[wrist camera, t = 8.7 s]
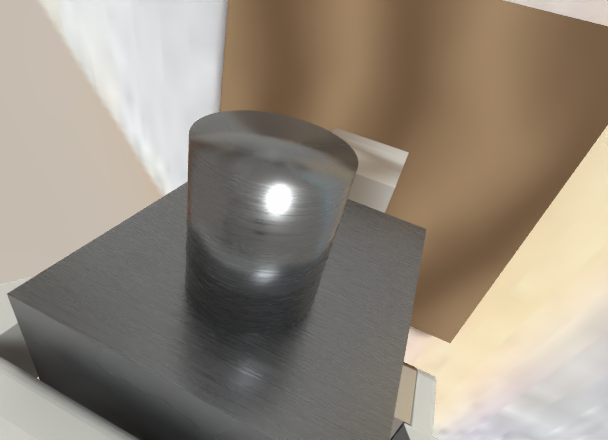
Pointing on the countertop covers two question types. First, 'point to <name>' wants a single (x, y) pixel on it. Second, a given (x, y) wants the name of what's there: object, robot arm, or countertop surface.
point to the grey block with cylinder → (236, 297)
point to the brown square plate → (433, 117)
